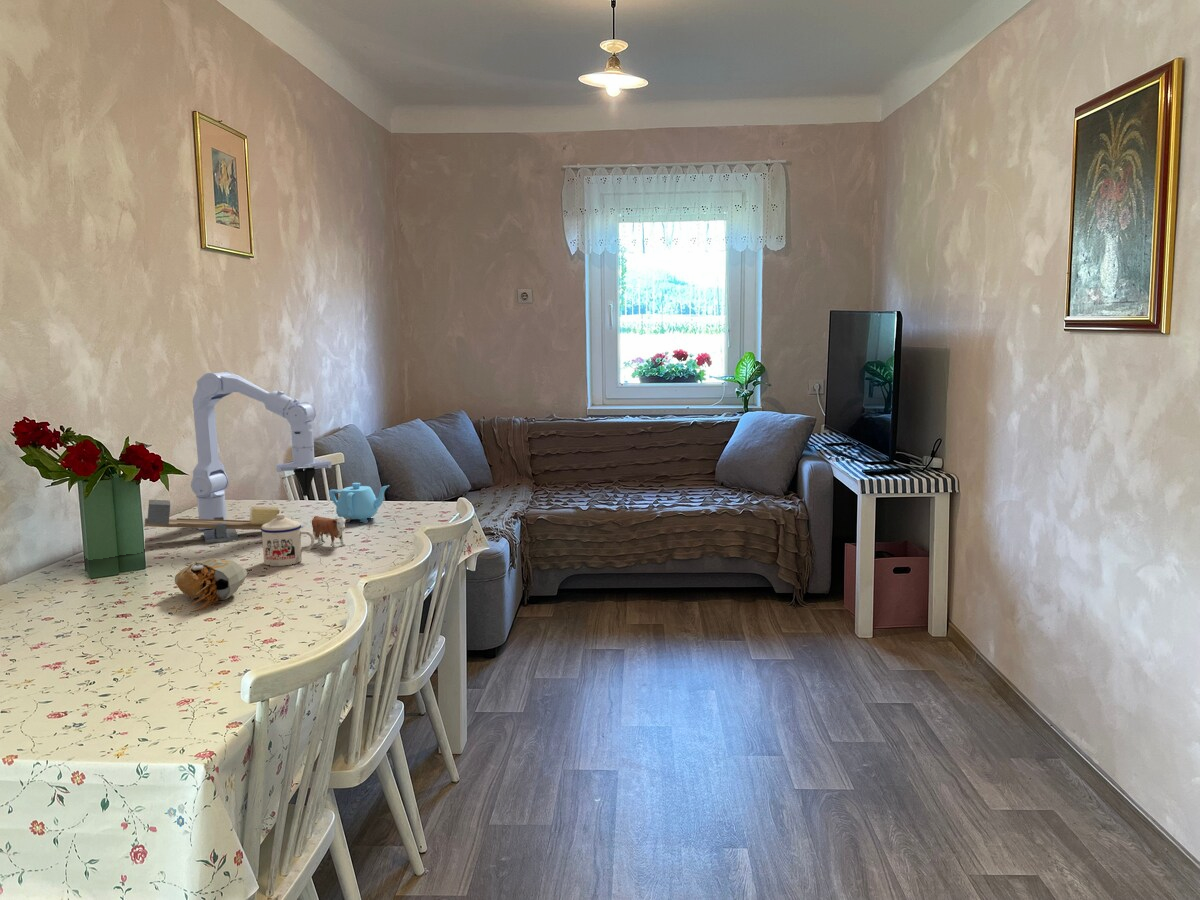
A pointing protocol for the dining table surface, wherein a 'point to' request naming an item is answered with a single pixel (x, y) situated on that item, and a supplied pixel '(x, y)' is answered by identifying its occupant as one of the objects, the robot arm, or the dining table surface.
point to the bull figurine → (328, 528)
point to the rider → (262, 515)
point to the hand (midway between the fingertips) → (305, 495)
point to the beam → (161, 513)
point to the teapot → (357, 502)
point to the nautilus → (210, 580)
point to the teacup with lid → (283, 541)
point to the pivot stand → (220, 533)
